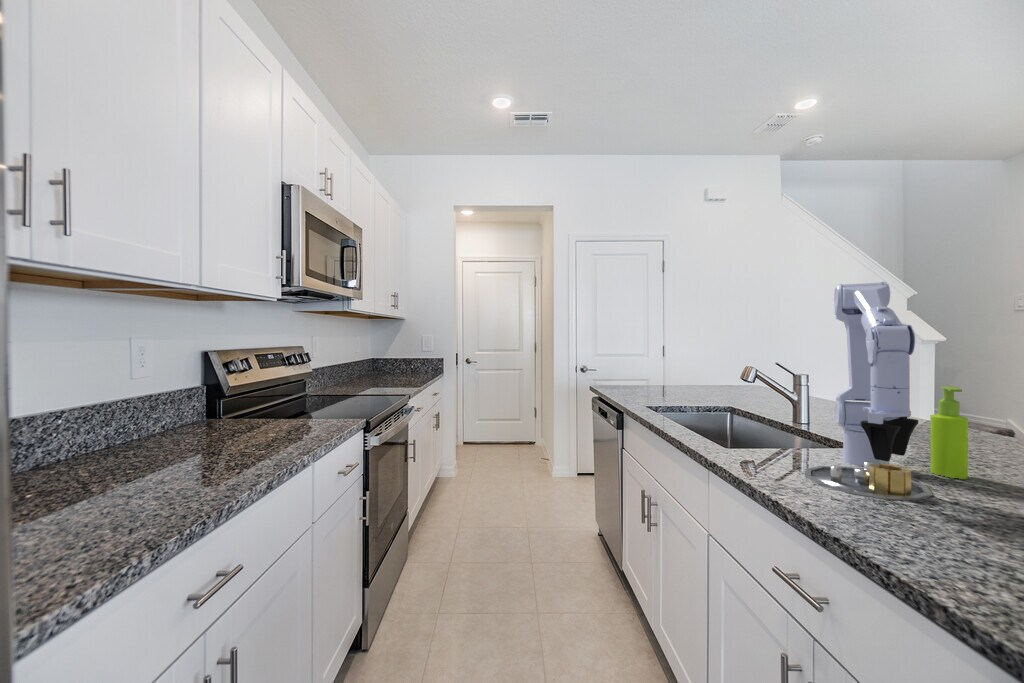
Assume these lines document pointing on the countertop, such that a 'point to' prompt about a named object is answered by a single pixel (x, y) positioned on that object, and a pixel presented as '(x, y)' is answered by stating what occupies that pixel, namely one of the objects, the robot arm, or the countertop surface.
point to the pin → (836, 474)
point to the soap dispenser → (949, 437)
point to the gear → (890, 479)
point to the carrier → (861, 483)
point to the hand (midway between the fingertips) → (889, 457)
